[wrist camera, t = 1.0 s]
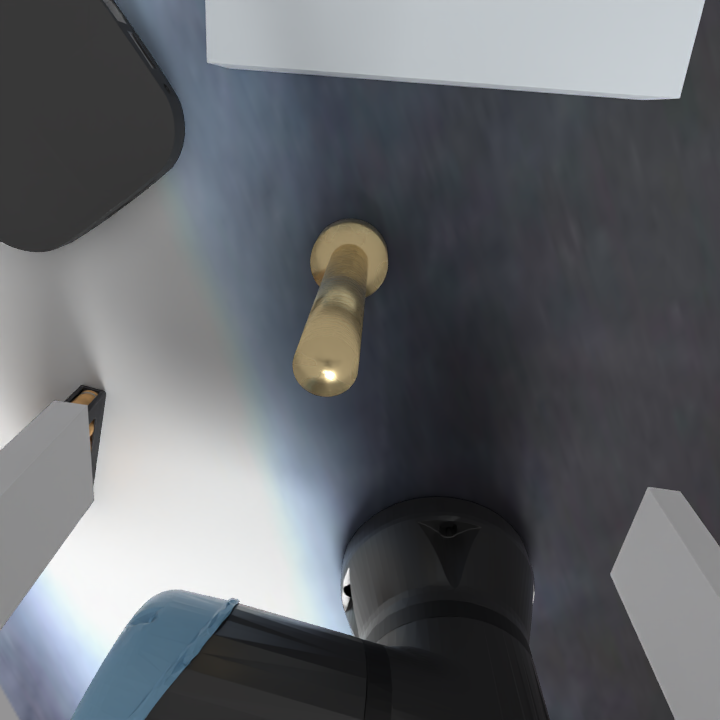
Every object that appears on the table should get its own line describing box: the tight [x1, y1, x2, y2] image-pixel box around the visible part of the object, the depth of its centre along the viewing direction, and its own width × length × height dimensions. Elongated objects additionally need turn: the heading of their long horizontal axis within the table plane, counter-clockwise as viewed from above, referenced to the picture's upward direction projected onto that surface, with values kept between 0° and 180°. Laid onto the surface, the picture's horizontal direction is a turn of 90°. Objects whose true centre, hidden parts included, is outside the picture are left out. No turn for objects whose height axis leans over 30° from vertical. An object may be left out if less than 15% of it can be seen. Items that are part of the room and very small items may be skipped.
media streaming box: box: [0, 0, 185, 252], centre depth 34 cm, size 15×15×3 cm
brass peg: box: [293, 218, 388, 397], centre depth 30 cm, size 5×5×18 cm
